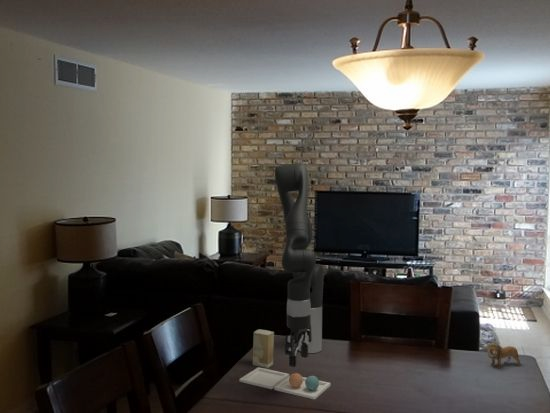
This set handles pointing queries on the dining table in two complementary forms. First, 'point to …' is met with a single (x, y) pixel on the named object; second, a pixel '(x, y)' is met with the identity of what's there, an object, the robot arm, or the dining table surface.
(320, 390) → the tray
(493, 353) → the lion figurine
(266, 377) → the tray
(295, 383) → the ball terracotta
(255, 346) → the skincare box
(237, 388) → the dining table surface
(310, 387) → the ball teal
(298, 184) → the robot arm
